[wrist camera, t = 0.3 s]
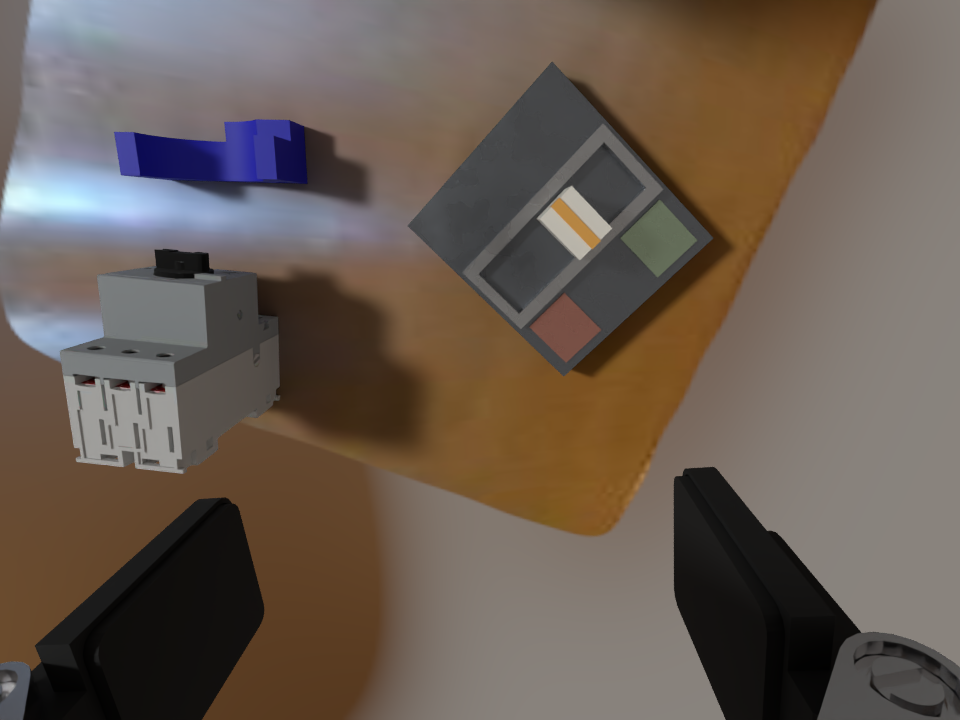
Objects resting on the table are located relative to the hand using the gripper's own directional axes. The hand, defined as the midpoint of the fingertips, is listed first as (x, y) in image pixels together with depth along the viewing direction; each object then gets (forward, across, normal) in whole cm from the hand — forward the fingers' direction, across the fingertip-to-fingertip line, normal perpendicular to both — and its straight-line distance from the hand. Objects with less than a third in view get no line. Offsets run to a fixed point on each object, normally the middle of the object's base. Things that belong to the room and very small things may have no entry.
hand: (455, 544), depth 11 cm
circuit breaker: (+36, +24, 0) cm, 43 cm away
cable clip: (+36, +21, -14) cm, 44 cm away
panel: (+36, -5, -5) cm, 36 cm away
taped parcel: (+32, -6, -6) cm, 33 cm away
